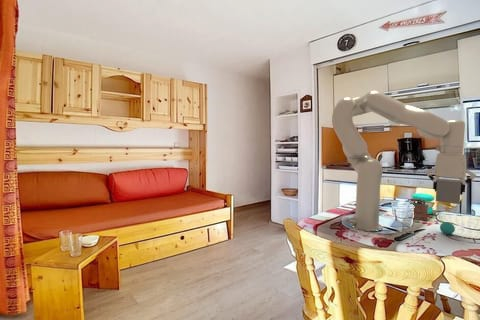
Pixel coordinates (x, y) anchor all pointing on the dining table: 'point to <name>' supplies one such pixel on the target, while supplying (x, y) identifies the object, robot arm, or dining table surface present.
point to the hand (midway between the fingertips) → (448, 192)
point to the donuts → (424, 197)
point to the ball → (447, 228)
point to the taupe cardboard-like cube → (448, 191)
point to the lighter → (420, 209)
